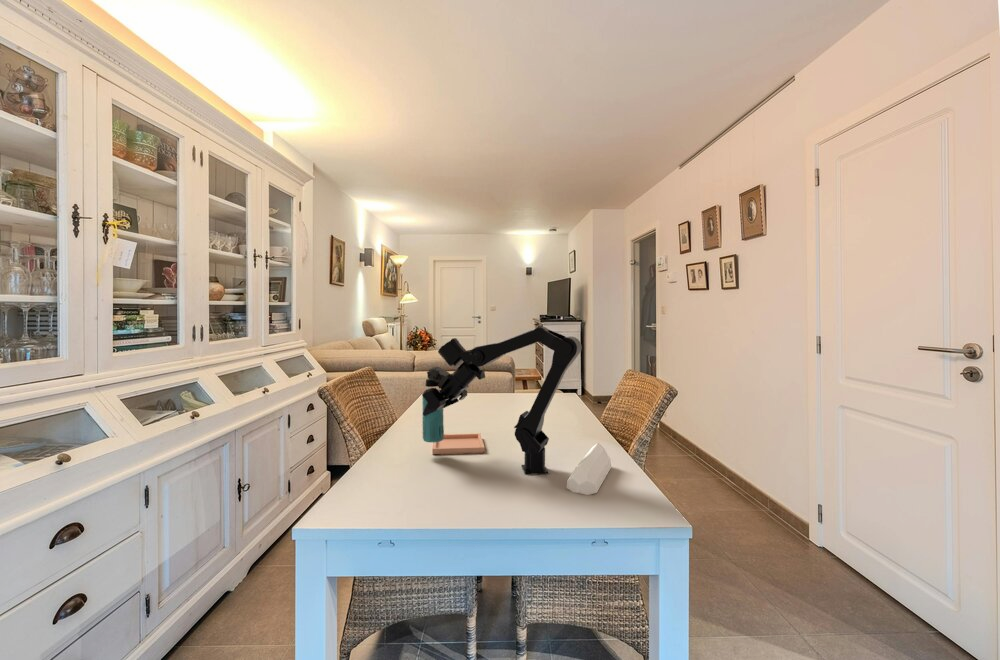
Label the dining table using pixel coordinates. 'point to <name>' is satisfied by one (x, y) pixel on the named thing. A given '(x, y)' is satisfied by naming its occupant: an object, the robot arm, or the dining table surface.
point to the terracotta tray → (459, 444)
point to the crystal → (590, 471)
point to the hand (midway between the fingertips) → (429, 412)
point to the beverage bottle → (432, 420)
